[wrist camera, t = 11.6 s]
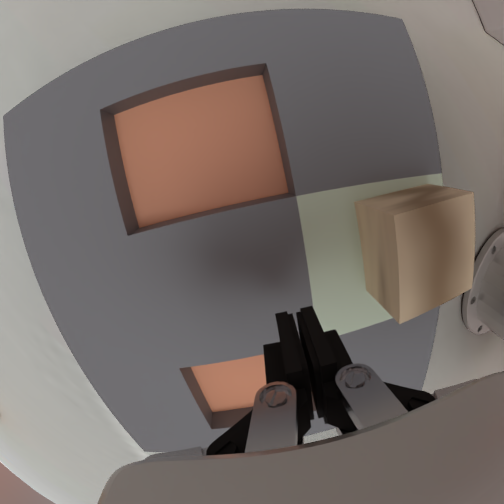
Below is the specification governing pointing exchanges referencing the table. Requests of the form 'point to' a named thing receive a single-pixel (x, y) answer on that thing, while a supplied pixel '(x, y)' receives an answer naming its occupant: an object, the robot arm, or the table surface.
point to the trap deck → (220, 207)
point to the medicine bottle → (492, 17)
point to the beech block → (417, 247)
